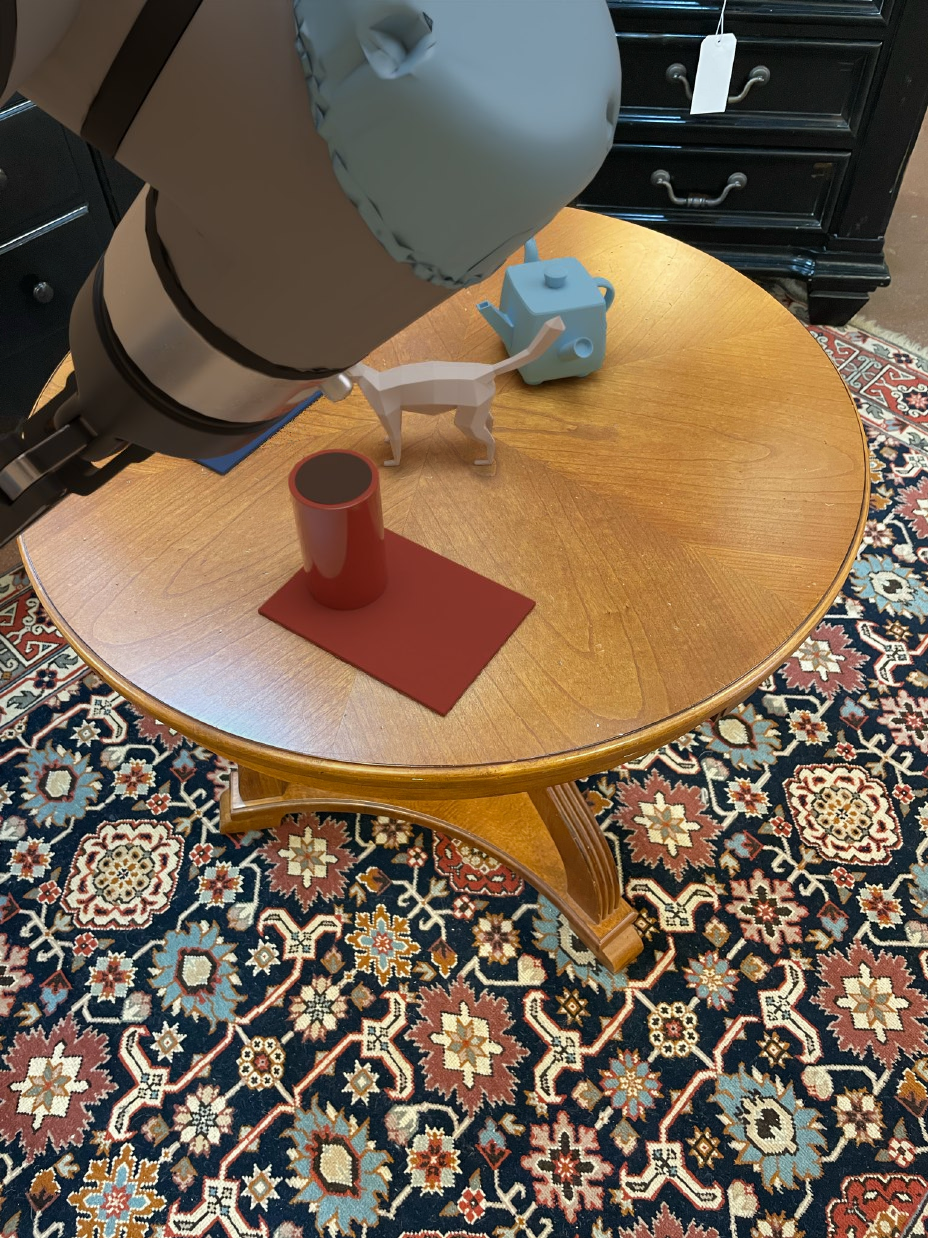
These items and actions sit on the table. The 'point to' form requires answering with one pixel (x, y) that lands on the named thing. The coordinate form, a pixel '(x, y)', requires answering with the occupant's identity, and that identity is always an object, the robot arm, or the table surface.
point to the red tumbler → (340, 527)
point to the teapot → (552, 315)
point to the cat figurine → (444, 391)
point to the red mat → (411, 623)
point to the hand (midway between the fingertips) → (54, 488)
